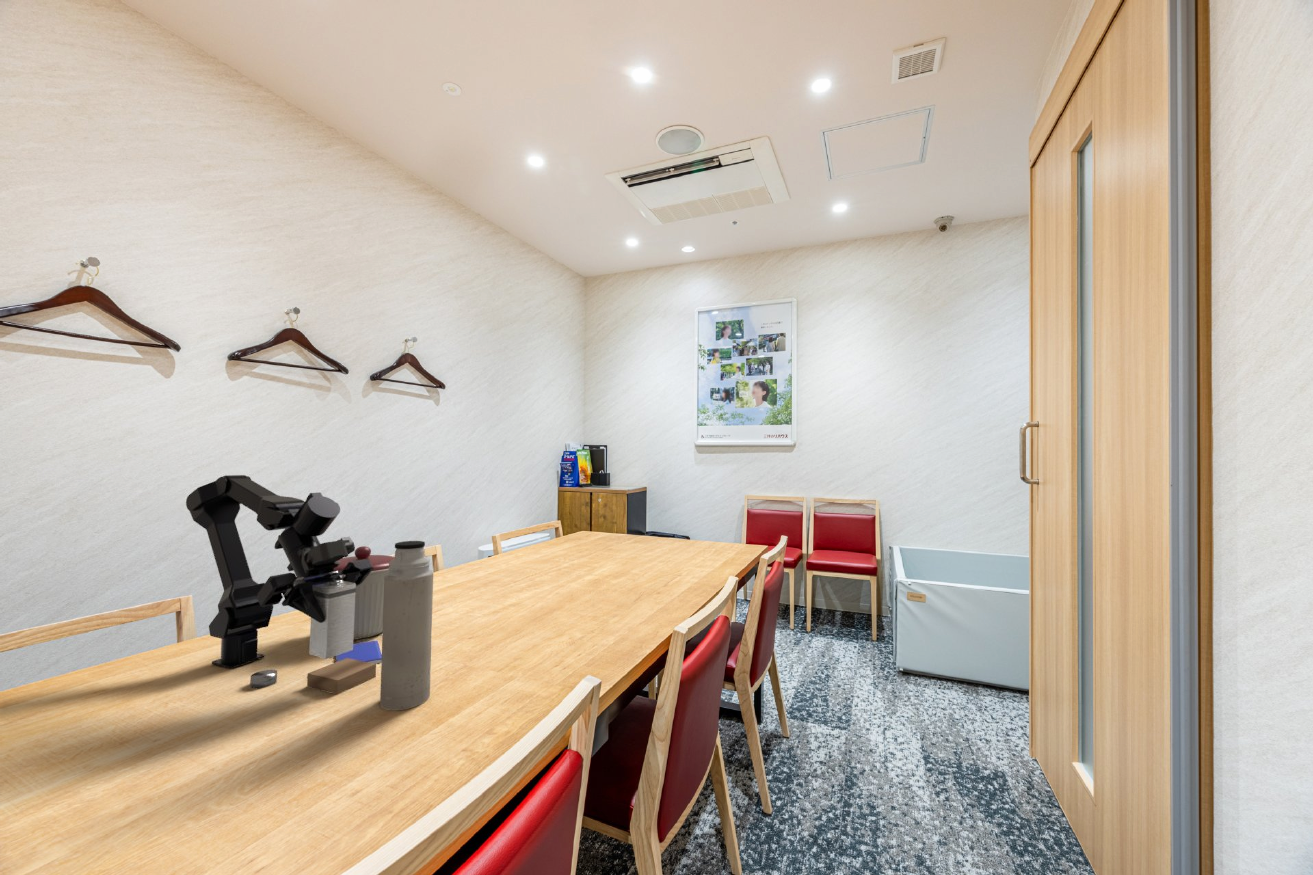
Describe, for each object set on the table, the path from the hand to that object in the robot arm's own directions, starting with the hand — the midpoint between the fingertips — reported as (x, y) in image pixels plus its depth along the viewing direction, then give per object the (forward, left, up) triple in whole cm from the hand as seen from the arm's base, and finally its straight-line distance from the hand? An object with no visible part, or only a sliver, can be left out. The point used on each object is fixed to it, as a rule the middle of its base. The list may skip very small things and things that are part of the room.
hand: (337, 617), depth 94 cm
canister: (-23, +24, -14) cm, 36 cm away
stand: (-2, +3, -13) cm, 14 cm away
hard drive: (-10, +13, -14) cm, 22 cm away
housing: (-1, 0, -7) cm, 7 cm away
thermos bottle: (+15, +2, -14) cm, 20 cm away
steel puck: (-15, -3, -13) cm, 20 cm away
